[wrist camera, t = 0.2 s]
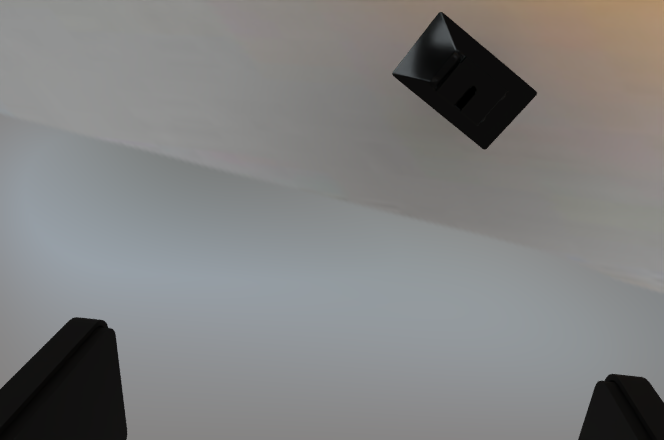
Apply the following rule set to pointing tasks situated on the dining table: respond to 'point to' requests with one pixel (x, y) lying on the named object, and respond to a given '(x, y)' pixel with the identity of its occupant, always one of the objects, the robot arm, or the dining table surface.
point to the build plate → (463, 81)
